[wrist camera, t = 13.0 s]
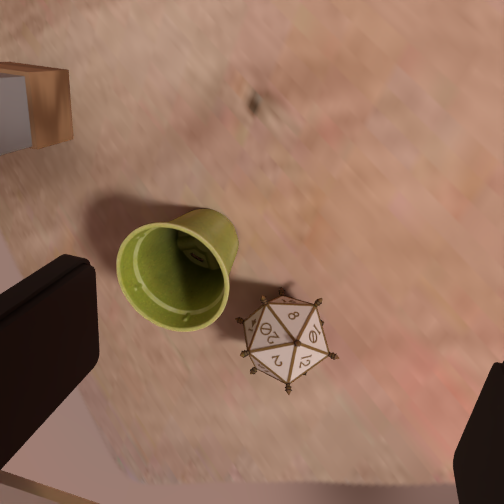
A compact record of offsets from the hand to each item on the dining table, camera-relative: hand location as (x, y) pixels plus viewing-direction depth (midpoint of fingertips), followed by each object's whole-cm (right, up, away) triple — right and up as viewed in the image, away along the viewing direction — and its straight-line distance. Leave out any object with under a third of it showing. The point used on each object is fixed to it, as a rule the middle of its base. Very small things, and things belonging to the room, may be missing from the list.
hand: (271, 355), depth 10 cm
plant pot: (-4, +4, +32) cm, 32 cm away
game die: (+4, -3, +33) cm, 33 cm away
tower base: (-20, +16, +31) cm, 40 cm away
